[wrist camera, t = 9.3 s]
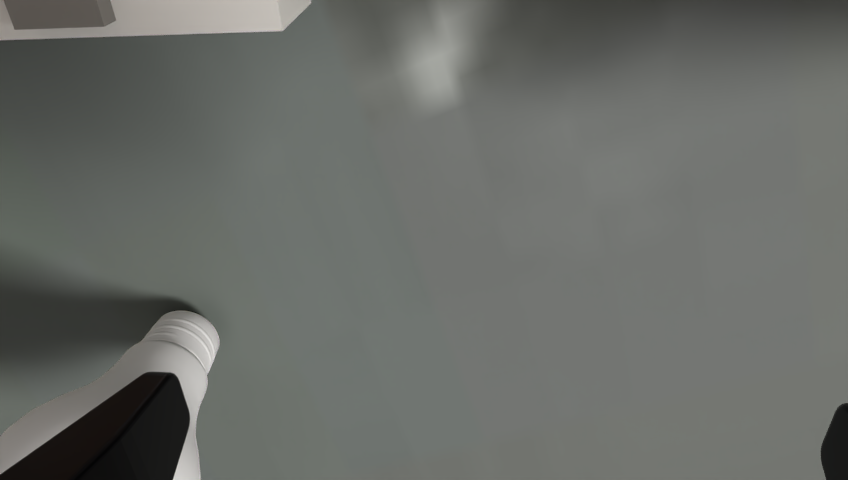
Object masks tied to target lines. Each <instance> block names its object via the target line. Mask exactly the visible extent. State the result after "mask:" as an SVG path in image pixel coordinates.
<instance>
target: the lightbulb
mask: <svg viewBox="0 0 848 480" xmlns="http://www.w3.org/2000/svg"><path fill="white" fill-rule="evenodd" d="M219 344H220V342H219V336H218V333H217V331H216V330H215V328H214V326H213V325H212V324H211V323H210V322H209V321H208V320H207V319H206V318H204V317H202V316H201V315H199V314H197V313H194V312H190V311H172V312H169V313H166V314H164V315H163V316H162V317H161V318H160V319H159V320H158V321H157V323H155V324H154V325H153V327H152V328H151V330H150V331H149V332H148V333H147V334H146V336H145V337H144V338H143V339H142V341H141V342H139V343H137V344H135V345H133V346H132V347H131V348H129V349H128V350H127V351H126V352H125V353H124V355H123V356H122V357H121V358H120V359H119V361H118V362H117V363H116V364H115V365H114V366H113V367H112V368H110V369H109V370H108V371H107V372H106V373H105V374H104V375H103V376H101V377H100V378H98V379H96V380H95V381H93V382H92V383H90V384H88V385H86V386H83V387H81V388H78V389H75V390H73V391H70V392H68V393H65V394H63V395H61V396H59V397H56V398H54V399H52V400H50V401H48V402H46V403H44V404H42V405H40V406H38V407H36V408H34V409H33V410H31V411H30V412H28V413H27V414H25V415H24V416H23V417H21V418H20V419H19V420H18V421H16V422H15V423H14V424H13V425H11V426H10V427H9V428H8V429H6V430H5V432H4V433H3V434H2V435H1V436H0V474H1V473H3V472H4V471H6V470H7V469H8V468H10V467H11V466H13V465H14V464H16V463H17V462H18V461H20V460H21V459H23V458H24V457H25V456H27V455H28V454H30V453H31V452H33V451H34V450H35V449H37V448H38V447H40V446H41V445H42V444H44V443H45V442H47V441H48V440H50V439H51V438H52V437H54V436H55V435H57V434H58V433H60V432H61V431H62V430H64V429H65V428H67V427H68V426H69V425H71V424H72V423H74V422H75V421H77V420H78V419H79V418H81V417H82V416H84V415H85V414H87V413H88V412H89V411H91V410H92V409H94V408H95V407H96V406H98V405H99V404H101V403H102V402H104V401H105V400H106V399H108V398H109V397H111V396H112V395H114V394H115V393H116V392H118V391H119V390H121V389H122V388H123V387H125V386H126V385H128V384H129V383H131V382H132V381H133V380H135V379H136V378H138V377H139V376H141V375H142V374H144V373H146V372H171V373H174V374H175V375H176V376H177V377H178V379H179V381H180V384H181V387H182V390H183V393H184V397H185V400H186V403H187V406H188V409H189V413H190V424H189V429H188V433H187V436H186V439H185V442H184V446H183V449H182V452H181V455H180V459H179V462H178V465H177V468H176V472H175V475H174V478H173V480H201V478H200V464H199V453H198V447H197V441H196V419H197V415H198V411H199V407H200V404H201V402H202V399H203V397H204V395H205V392H206V389H207V383H208V381H207V374H208V372H209V370H210V368H211V365H212V363H213V361H214V358H215V355H216V353H217V351H218V348H219Z"/></svg>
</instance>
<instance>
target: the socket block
mask: <svg viewBox="0 0 848 480" xmlns="http://www.w3.org/2000/svg"><path fill="white" fill-rule="evenodd" d="M310 4H311V0H0V40H25V39H55V38H86V37H116V36H147V35H177V34H207V33H238V32H268V31H283V30H284V29H285V28H286V27H287V26H288V25H289V24H290V23H291V22H292V21H294V20H295V19H296V18H297V17H298V16H299V15H300V14H301V13H302V12H303V11H304V10H305V9H306V8H307V7H308V6H309V5H310Z"/></svg>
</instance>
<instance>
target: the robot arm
mask: <svg viewBox="0 0 848 480" xmlns="http://www.w3.org/2000/svg"><path fill="white" fill-rule="evenodd" d="M189 424H190V413H189V409H188V406H187V403H186V400H185V397H184V393H183V390H182V387H181V384H180V381H179V379H178V377H177V376H176V375H175V374H174V373H171V372H146V373H144V374H142V375H141V376H139V377H138V378H136V379H135V380H133V381H132V382H131V383H129V384H128V385H126V386H125V387H123V388H122V389H121V390H119V391H118V392H116V393H115V394H114V395H112V396H111V397H109V398H108V399H106V400H105V401H104V402H102V403H101V404H99V405H98V406H96V407H95V408H94V409H92V410H91V411H89V412H88V413H87V414H85V415H84V416H82V417H81V418H79V419H78V420H77V421H75V422H74V423H72V424H71V425H69V426H68V427H67V428H65V429H64V430H62V431H61V432H60V433H58V434H57V435H55V436H54V437H52V438H51V439H50V440H48V441H47V442H45V443H44V444H42V445H41V446H40V447H38V448H37V449H35V450H34V451H33V452H31V453H30V454H28V455H27V456H25V457H24V458H23V459H21V460H20V461H18V462H17V463H16V464H14V465H13V466H11V467H10V468H8V469H7V470H6V471H4V472H3V473H1V474H0V480H173V478H174V475H175V472H176V468H177V465H178V462H179V459H180V455H181V452H182V449H183V446H184V442H185V439H186V436H187V433H188V429H189ZM821 462H822V466H823V470H824V473H825V477H826V480H848V403H844V404H842V405H840V406H839V407H838V408H837V410H836V411H835V414H834V416H833V419H832V421H831V424H830V426H829V428H828V431H827V433H826V436H825V438H824V440H823V443H822V446H821Z"/></svg>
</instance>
